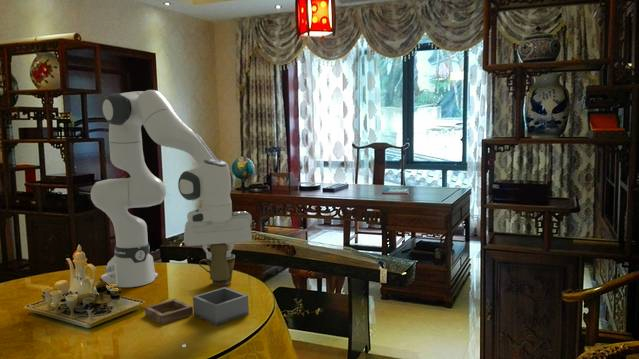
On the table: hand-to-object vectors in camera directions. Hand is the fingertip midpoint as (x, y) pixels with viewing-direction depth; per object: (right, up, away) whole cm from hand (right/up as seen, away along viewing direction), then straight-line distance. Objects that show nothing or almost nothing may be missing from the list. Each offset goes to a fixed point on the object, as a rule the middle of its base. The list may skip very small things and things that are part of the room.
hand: (218, 257), depth 158 cm
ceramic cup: (-7, -15, +32) cm, 36 cm away
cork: (0, -7, +1) cm, 7 cm away
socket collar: (-16, -18, +3) cm, 24 cm away
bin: (0, -18, +2) cm, 18 cm away
